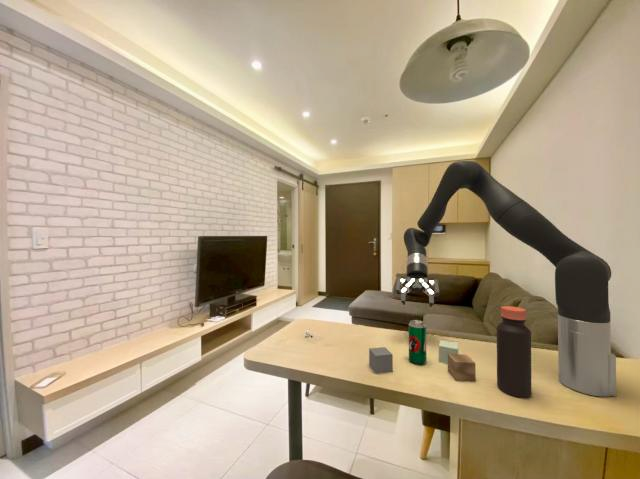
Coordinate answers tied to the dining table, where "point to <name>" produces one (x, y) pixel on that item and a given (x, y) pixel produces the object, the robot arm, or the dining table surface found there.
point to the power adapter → (308, 333)
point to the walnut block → (461, 367)
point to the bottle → (514, 353)
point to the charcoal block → (381, 360)
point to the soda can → (417, 342)
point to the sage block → (447, 350)
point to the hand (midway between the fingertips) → (417, 304)
